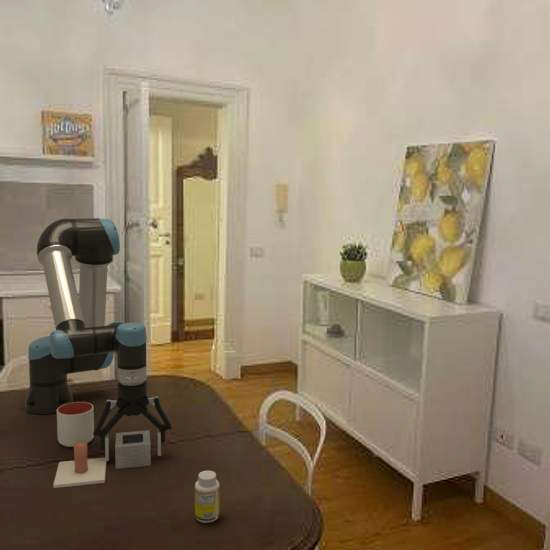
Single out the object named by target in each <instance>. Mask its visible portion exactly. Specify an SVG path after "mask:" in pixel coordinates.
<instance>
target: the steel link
mask: <svg viewBox="0 0 550 550" xmlns="http://www.w3.org/2000/svg"><path fill="white" fill-rule="evenodd" d="M150 434H151V433H150V430H149V429H147V430H139V431H137V430H136V431H135V430H134V431H123V432H116V433H115V446H114V449H115V454H114V455H115V456H114V457H115V459H114V460H115V470H121V469H129V468H131V469H132V468H141V467H150V466H152V463H151V461H152V460H151V459H152V457H151V451H152V449H151V435H150Z"/></svg>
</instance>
